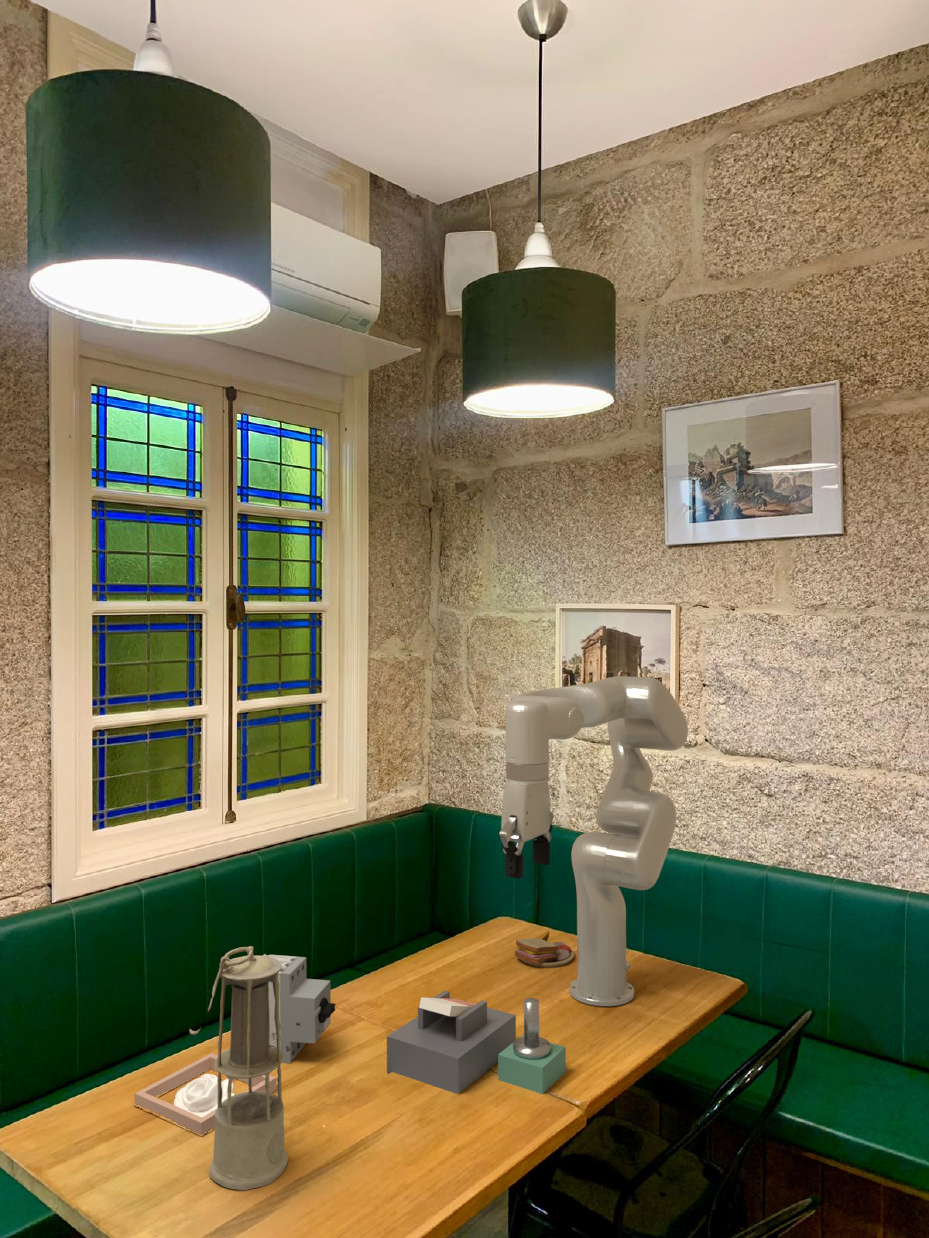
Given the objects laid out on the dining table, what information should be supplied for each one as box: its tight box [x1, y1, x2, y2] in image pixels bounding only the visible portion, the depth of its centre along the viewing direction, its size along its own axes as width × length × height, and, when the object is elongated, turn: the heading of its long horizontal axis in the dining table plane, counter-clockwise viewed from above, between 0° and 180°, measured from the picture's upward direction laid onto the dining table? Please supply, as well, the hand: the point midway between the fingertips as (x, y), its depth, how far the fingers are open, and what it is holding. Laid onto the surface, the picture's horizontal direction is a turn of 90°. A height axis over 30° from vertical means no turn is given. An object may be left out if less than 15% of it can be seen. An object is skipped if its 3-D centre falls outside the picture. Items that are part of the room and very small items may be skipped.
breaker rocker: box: [418, 997, 477, 1017], centre depth 150 cm, size 11×6×2 cm, turn 147°
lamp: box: [189, 945, 288, 1191], centre depth 120 cm, size 10×13×30 cm
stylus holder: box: [497, 1034, 567, 1095], centre depth 144 cm, size 8×8×4 cm
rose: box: [173, 1073, 236, 1117], centre depth 136 cm, size 10×4×10 cm
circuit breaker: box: [262, 953, 336, 1065], centre depth 153 cm, size 8×14×15 cm, turn 78°
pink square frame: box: [134, 1052, 277, 1135], centre depth 139 cm, size 15×15×2 cm
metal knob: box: [513, 997, 551, 1060], centre depth 144 cm, size 6×6×12 cm
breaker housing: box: [386, 990, 517, 1095], centre depth 150 cm, size 18×14×10 cm
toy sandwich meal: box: [514, 930, 575, 968], centre depth 195 cm, size 12×14×5 cm
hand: (528, 870), depth 155 cm, fingers open, 9 cm apart
